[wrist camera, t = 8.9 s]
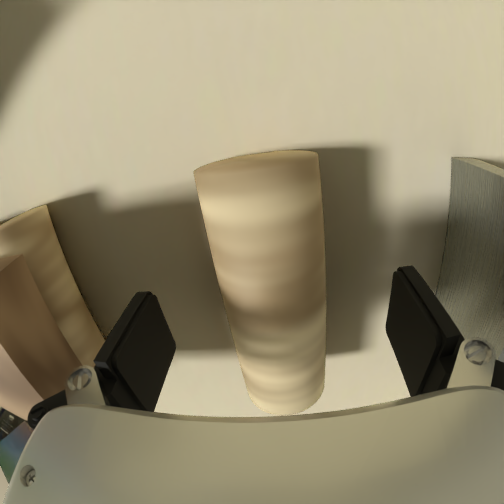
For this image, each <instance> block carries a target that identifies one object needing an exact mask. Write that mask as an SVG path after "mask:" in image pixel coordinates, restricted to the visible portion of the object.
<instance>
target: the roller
mask: <svg viewBox="0 0 504 504" xmlns="http://www.w3.org/2000/svg"><path fill="white" fill-rule="evenodd" d="M194 177H195V182H196V187H197V192H198V196H199V201H200V205H201V210H202V215H203V219H204V224H205V228H206V232H207V237H208V241H209V245H210V250H211V254H212V258H213V262H214V266H215V271H216V275H217V279H218V283H219V287H220V291H221V295H222V299H223V303H224V307H225V310H226V314H227V318H228V322H229V326H230V329H231V333H232V337H233V341H234V344H235V348H236V352H237V355H238V359H239V362H240V366H241V369H242V373H243V376H244V380H245V383H246V387H247V390H248V394H249V396H250V399H251V400H252V402H253V403H254V404H255V405H256V406H257V407H258V408H260V409H261V410H263V411H265V412H267V413H270V414H275V415H292V414H296V413H299V412H302V411H304V410H306V409H308V408H309V407H311V406H312V405H313V404H315V403H316V402H317V400H318V399H319V398H320V396H321V394H322V392H323V389H324V379H325V354H326V263H325V238H324V219H323V204H322V190H321V178H320V167H319V157H318V154H317V153H316V152H312V151H302V150H286V151H273V152H265V153H258V154H250V155H243V156H237V157H232V158H228V159H224V160H220V161H216V162H213V163H210V164H207V165H204V166H202V167H200V168H198V169H196V170H195V171H194Z"/></svg>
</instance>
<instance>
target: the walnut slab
mask: <svg viewBox="0 0 504 504" xmlns="http://www.w3.org/2000/svg"><path fill="white" fill-rule="evenodd" d="M79 366H83V365H82V364H81V362H80V361H79V359H78V358H77V356H76V355H75V353H74V352H73V350H72V348H71V347H70V345H69V344H68V342H67V340H66V339H65V337H64V336H63V334H62V332H61V331H60V329H59V327H58V325H57V324H56V322H55V320H54V318H53V317H52V315H51V313H50V311H49V309H48V307H47V305H46V304H45V302H44V300H43V298H42V296H41V294H40V292H39V290H38V288H37V286H36V283H35V281H34V279H33V277H32V275H31V273H30V270H29V268H28V266H27V263H26V261H25V259H24V256H23V254H18V255H14V256H9V257H4V258H0V406H1V407H2V408H4V409H6V410H8V411H9V412H11V413H13V414H15V415H17V416H19V417H21V418H23V419H24V420H26V421H27V419H28V414H29V412H30V410H31V408H32V407H33V406H34V405H36V404H37V403H39V402H41V401H43V400H45V399H47V398H49V397H51V396H53V395H55V394H57V393H59V392H61V391H63V390H65V379H66V377H67V376H68V374H69V373H70V372H71V371H72V370H73V369H75V368H77V367H79Z"/></svg>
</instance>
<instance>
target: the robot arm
mask: <svg viewBox="0 0 504 504" xmlns="http://www.w3.org/2000/svg"><path fill="white" fill-rule="evenodd" d="M386 333H387V336H388V338H389V340H390V343H391V345H392V348H393V350H394V353H395V355H396V358H397V361H398V363H399V366H400V368H401V371H402V374H403V376H404V379H405V382H406V385H407V387H408V390H409V393H410V396H411V397H408V398H404V399H400V400H395V401H390V402H385V403H380V404H375V405H370V406H364V407H358V408H352V409H346V410H339V411H331V412H323V413H314V414H303V415H290V416H273V417H208V416H190V415H177V414H167V413H158V412H154V410H155V407H156V404H157V401H158V398H159V395H160V392H161V389H162V387H163V384H164V381H165V378H166V375H167V373H168V370H169V367H170V364H171V361H172V359H173V356H174V353H175V350H176V344H175V341H174V339H173V337H172V334H171V332H170V329H169V327H168V325H167V322H166V320H165V317H164V315H163V312H162V310H161V307H160V305H159V302H158V300H157V297H156V296H155V295H153V294H152V293H151V292H137V293H136V294H135V295H134V297H133V298H132V300H131V301H130V303H129V304H128V306H127V307H126V309H125V311H124V312H123V314H122V315H121V317H120V318H119V320H118V321H117V323H116V325H115V326H114V328H113V329H112V331H111V332H110V334H109V336H108V337H107V339H106V340H105V342H104V344H103V345H102V347H101V349H100V350H99V352H98V354H97V355H96V357H95V359H94V360H93V362H94V363H95V366H94V368H92V367H91V366H88V365H83V366H79V367H77V368H75V369H73V370H72V371H71V372H70V373H69V374H68V376H67V377H66V379H65V390H63V391H61V392H59V393H57V394H55V395H53V396H51V397H49V398H47V399H45V400H43V401H41V402H39V403H37V404H36V405H34V406H33V407H32V408H31V410H30V412H29V414H28V419H27V421H28V423H26V422H25V421H24V422H22V423H21V424H20V425H19V426H18V427H17V428H15V429H14V430H13V431H12V432H11V433H10V434H9V435H7V436H6V437H5V438H4V439H3V440H2V441H1V442H0V466H1V468H2V470H3V472H4V475H5V477H6V479H7V481H8V483H9V486H8V489H7V492H6V495H5V498H4V501H3V504H504V362H501V361H499V360H496V353H495V350H494V347H493V346H492V345H491V343H489V342H488V341H487V340H485V339H483V338H480V337H469V338H467V339H464V337H463V336H462V334H461V332H460V331H459V329H458V328H457V326H456V325H455V323H454V322H453V320H452V319H451V317H450V316H449V314H448V313H447V311H446V310H445V308H444V307H443V305H442V304H441V303H440V301H439V300H438V298H437V297H436V296H435V295H434V293H433V292H432V290H431V289H430V288H429V286H428V285H427V284H426V282H425V281H424V280H423V278H422V277H421V276H420V274H419V273H418V272H417V270H416V269H415V268H414V267H413V266H404V267H399V268H398V269H397V271H395V272H394V273H393V280H392V288H391V296H390V303H389V309H388V315H387V321H386Z"/></svg>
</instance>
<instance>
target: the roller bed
mask: <svg viewBox="0 0 504 504" xmlns="http://www.w3.org/2000/svg"><path fill="white" fill-rule="evenodd" d="M18 254H23V256H24V259H25V261H26V263H27V266H28V268H29V270H30V273H31V275H32V277H33V279H34V281H35V283H36V286H37V288H38V290H39V292H40V294H41V296H42V298H43V300H44V302H45V304H46V305H47V307H48V309H49V311H50V313H51V315H52V317H53V318H54V320H55V322H56V324H57V325H58V327H59V329H60V331H61V332H62V334H63V336H64V337H65V339H66V340H67V342H68V344H69V345H70V347H71V348H72V350H73V352H74V353H75V355H76V356H77V358H78V359H79V361H80V362H81V364H82V365H88V366H91V367H92V368H94V366H95V363H94V362H93V360H94V359H95V357H96V355H97V354H98V352H99V350H100V349H101V347H102V345H103V344H104V342H105V340H104V338H103V336H102V334H101V333H100V331H99V329H98V327H97V325H96V323H95V322H94V320H93V318H92V316H91V314H90V312H89V310H88V308H87V306H86V304H85V302H84V300H83V298H82V296H81V294H80V291H79V289H78V287H77V285H76V283H75V280H74V278H73V276H72V274H71V271H70V269H69V267H68V264H67V262H66V259H65V257H64V254H63V252H62V249H61V247H60V244H59V241H58V238H57V236H56V233H55V230H54V227H53V224H52V221H51V218H50V215H49V212H48V209H47V206H46V205H42V206H39V207H36V208H34V209H31V210H29V211H27V212H24V213H22V214H20V215H18V216H16V217H14V218H12V219H10V220H9V221H7V222H5V223H3V224H2V225H0V258H4V257H9V256H14V255H18Z"/></svg>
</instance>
